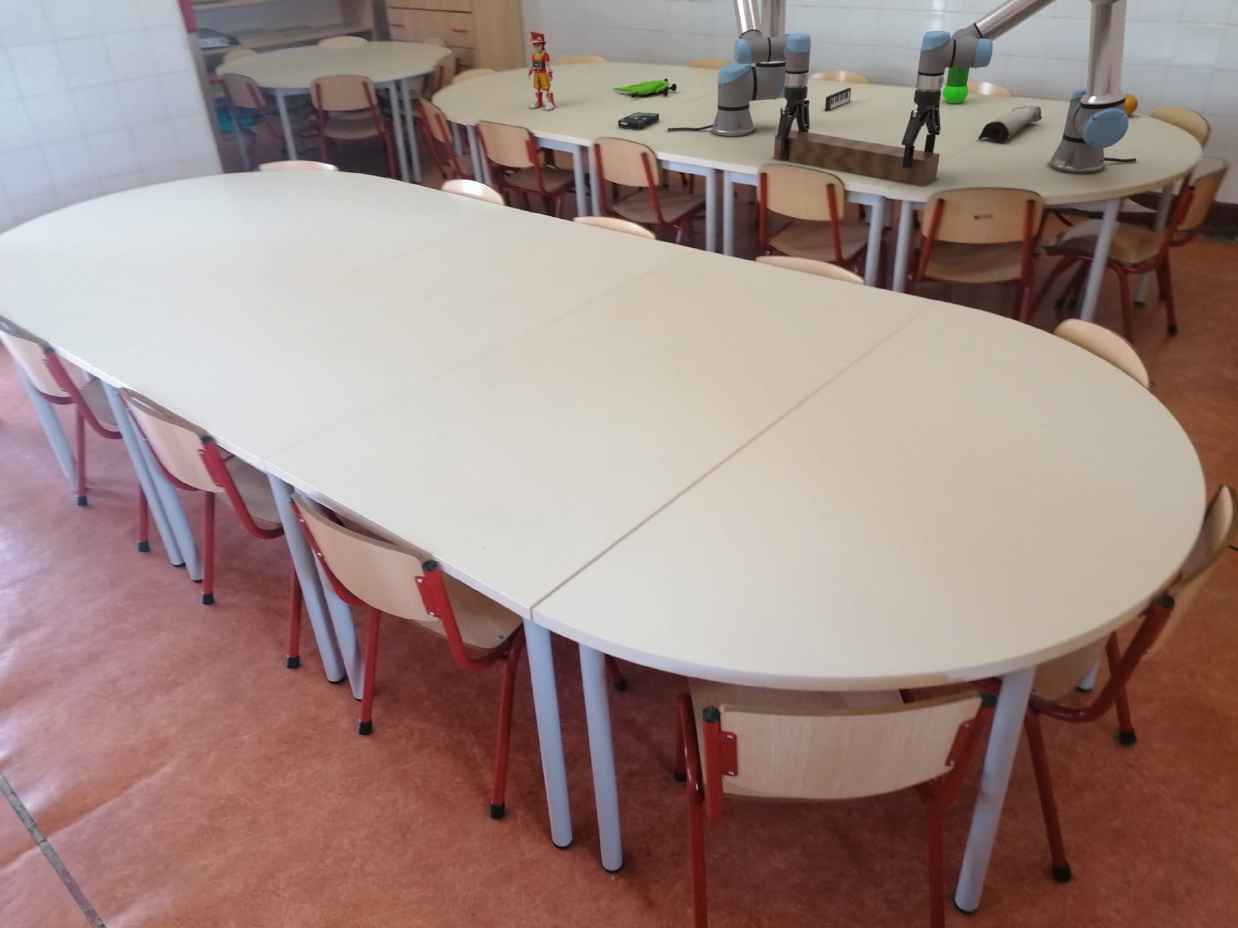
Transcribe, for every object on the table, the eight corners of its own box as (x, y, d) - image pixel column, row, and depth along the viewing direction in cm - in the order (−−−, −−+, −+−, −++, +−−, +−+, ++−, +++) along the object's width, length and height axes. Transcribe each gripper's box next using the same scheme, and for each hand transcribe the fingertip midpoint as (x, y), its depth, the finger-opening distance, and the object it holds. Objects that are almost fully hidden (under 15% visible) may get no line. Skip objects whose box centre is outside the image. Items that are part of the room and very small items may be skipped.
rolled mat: (1009, 110, 328) (1033, 93, 320) (1023, 131, 328) (1047, 114, 320) (974, 133, 311) (998, 115, 302) (988, 155, 311) (1013, 138, 303)
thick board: (773, 158, 306) (774, 135, 302) (788, 152, 311) (789, 129, 307) (922, 186, 275) (926, 161, 270) (936, 178, 280) (939, 153, 275)
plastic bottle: (973, 101, 354) (984, 32, 339) (955, 106, 349) (966, 36, 335) (952, 97, 361) (962, 29, 346) (934, 102, 356) (944, 33, 342)
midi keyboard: (827, 110, 354) (828, 97, 351) (824, 110, 354) (825, 97, 352) (850, 101, 364) (851, 88, 361) (847, 101, 365) (848, 88, 362)
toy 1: (525, 109, 381) (517, 32, 364) (534, 104, 388) (527, 28, 371) (550, 110, 377) (543, 32, 360) (559, 105, 384) (553, 28, 367)
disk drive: (640, 130, 344) (659, 120, 354) (640, 123, 343) (659, 113, 353) (617, 128, 349) (637, 118, 359) (617, 120, 348) (636, 111, 358)
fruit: (1107, 107, 323) (1124, 87, 320) (1104, 110, 331) (1120, 91, 328) (1128, 120, 322) (1144, 99, 319) (1124, 123, 330) (1140, 103, 327)
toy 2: (686, 85, 398) (631, 84, 414) (685, 72, 395) (629, 72, 411) (651, 104, 381) (596, 103, 397) (650, 92, 378) (594, 91, 394)
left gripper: (787, 94, 285) (783, 165, 297) (823, 80, 297) (818, 149, 310) (767, 91, 289) (764, 162, 302) (804, 78, 302) (800, 146, 314)
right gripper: (920, 99, 255) (909, 174, 267) (959, 82, 270) (947, 154, 282) (896, 96, 259) (886, 170, 271) (936, 80, 274) (925, 150, 286)
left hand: (792, 156), depth 306 cm, fingers closed on thick board, 9 cm apart
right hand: (917, 162), depth 277 cm, fingers open, 13 cm apart
